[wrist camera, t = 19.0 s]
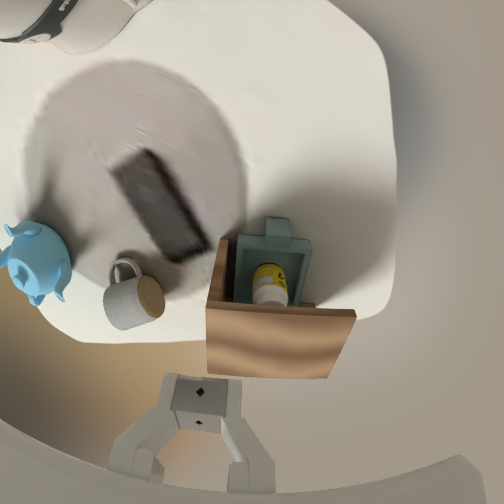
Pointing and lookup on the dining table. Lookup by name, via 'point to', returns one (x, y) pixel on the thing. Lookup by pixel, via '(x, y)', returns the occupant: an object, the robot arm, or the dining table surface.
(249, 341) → the open wooden box
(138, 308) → the ceramic mug
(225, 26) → the dining table surface
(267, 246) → the tray
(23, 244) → the teapot
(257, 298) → the supplement bottle
